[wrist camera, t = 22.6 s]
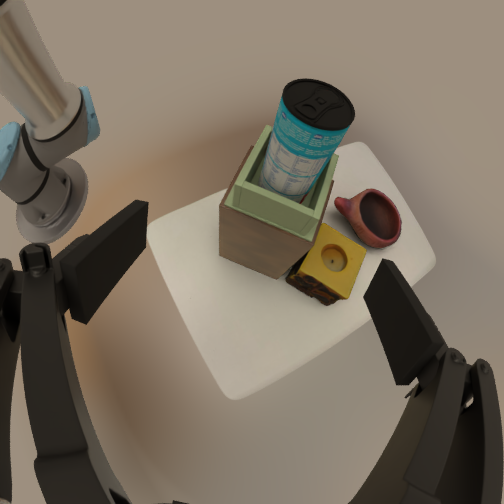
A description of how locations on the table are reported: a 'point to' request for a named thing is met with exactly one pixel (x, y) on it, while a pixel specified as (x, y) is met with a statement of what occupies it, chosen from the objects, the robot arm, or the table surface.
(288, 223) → the open box
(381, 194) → the bowl
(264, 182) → the beverage can
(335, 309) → the table surface
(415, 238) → the table surface
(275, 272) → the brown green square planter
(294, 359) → the table surface
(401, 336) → the robot arm
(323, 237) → the candle
